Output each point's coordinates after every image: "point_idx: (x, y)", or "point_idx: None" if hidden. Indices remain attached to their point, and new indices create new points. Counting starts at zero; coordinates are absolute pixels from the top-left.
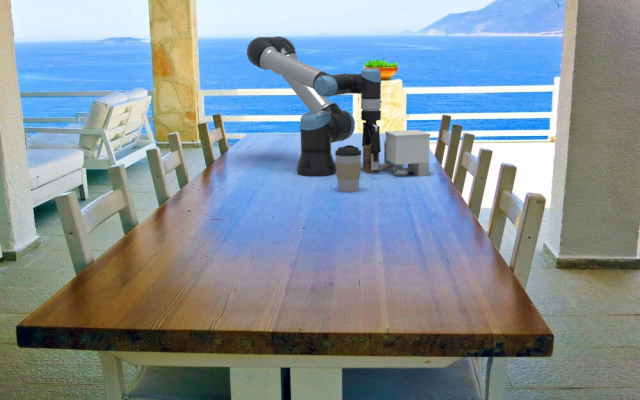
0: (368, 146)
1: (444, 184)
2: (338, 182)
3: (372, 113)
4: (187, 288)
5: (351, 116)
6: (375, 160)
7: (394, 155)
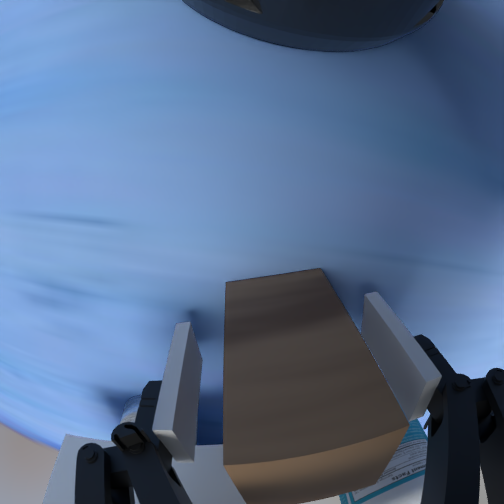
0: (291, 474)
1: (38, 439)
2: None
3: None
4: None
5: None
6: (147, 396)
7: (73, 474)
